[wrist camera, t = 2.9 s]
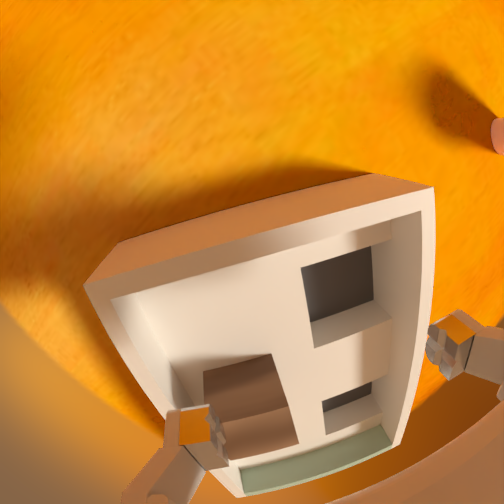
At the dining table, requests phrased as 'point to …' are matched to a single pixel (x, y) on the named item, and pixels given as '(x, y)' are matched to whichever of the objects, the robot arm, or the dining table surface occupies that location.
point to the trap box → (285, 315)
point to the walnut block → (250, 407)
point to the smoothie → (498, 135)
